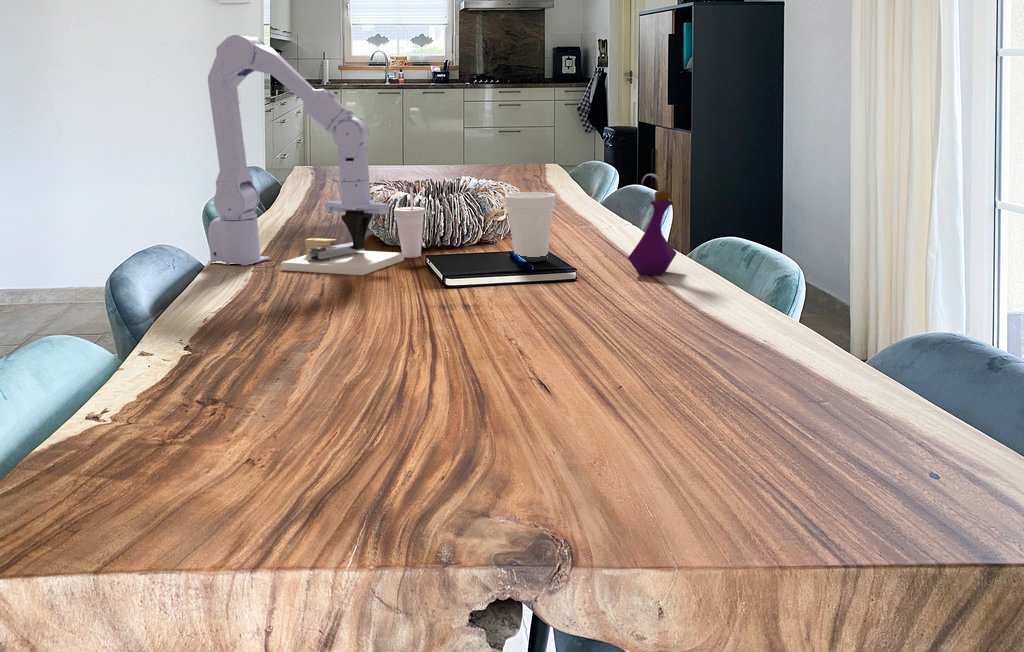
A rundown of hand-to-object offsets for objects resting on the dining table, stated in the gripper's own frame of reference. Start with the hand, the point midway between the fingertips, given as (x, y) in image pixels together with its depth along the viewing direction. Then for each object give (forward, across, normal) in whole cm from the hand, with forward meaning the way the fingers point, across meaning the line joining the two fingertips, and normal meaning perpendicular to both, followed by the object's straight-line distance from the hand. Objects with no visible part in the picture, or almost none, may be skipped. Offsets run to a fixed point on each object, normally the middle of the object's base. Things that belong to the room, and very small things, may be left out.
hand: (359, 248), depth 201 cm
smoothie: (+3, -6, -10) cm, 11 cm away
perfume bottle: (+3, -57, -13) cm, 59 cm away
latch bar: (+1, +2, +4) cm, 5 cm away
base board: (+3, 0, +5) cm, 5 cm away
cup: (+3, -31, -14) cm, 34 cm away
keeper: (+1, +6, +5) cm, 7 cm away
